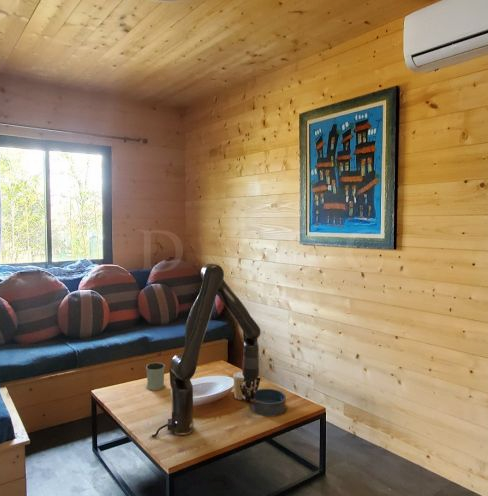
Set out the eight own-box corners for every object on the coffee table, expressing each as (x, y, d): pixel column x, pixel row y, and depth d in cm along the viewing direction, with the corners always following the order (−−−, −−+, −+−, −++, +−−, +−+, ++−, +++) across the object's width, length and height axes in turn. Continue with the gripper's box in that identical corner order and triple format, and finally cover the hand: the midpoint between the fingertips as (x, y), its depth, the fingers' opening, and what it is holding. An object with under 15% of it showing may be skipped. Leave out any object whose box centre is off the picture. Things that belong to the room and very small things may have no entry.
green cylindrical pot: (159, 381, 238) (158, 361, 236) (168, 387, 230) (168, 366, 229) (142, 386, 231) (142, 365, 230) (152, 392, 223) (152, 370, 222)
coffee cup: (251, 393, 224) (251, 371, 223) (250, 401, 215) (251, 378, 213) (233, 392, 225) (234, 370, 224) (232, 400, 215) (232, 377, 214)
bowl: (254, 416, 199) (254, 404, 198) (248, 400, 215) (248, 389, 215) (289, 415, 201) (289, 402, 200) (280, 399, 217) (281, 388, 217)
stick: (240, 401, 197) (240, 395, 196) (243, 399, 198) (243, 394, 198) (256, 406, 191) (256, 401, 191) (259, 405, 193) (259, 400, 193)
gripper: (252, 359, 201) (251, 394, 202) (234, 367, 190) (234, 404, 192) (266, 363, 196) (265, 399, 198) (248, 371, 185) (247, 409, 187)
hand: (249, 401), depth 195 cm, fingers closed on stick, 2 cm apart
